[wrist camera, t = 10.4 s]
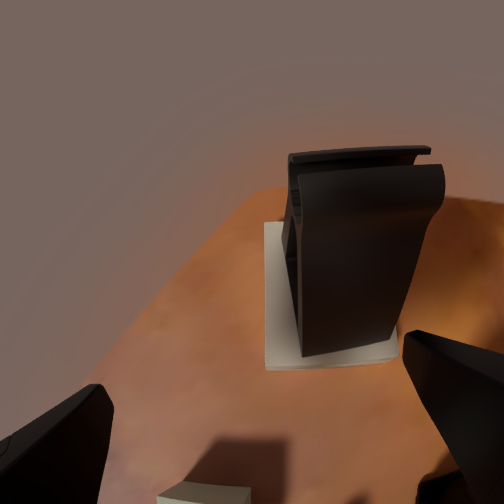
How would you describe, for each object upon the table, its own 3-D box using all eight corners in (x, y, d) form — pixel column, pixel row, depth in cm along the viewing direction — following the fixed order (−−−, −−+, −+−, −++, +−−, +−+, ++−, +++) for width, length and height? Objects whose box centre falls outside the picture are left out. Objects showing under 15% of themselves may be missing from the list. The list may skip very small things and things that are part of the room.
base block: (368, 235, 25) (375, 218, 23) (387, 362, 20) (399, 356, 17) (266, 239, 26) (264, 222, 24) (267, 370, 20) (264, 366, 18)
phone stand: (387, 341, 18) (488, 253, 8) (300, 358, 18) (324, 284, 8) (356, 229, 23) (392, 96, 12) (281, 239, 23) (274, 100, 12)
